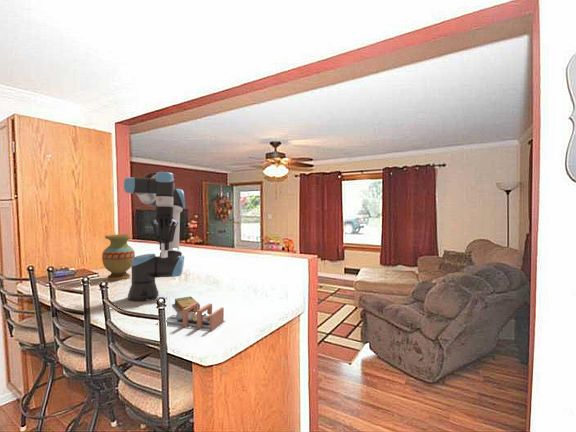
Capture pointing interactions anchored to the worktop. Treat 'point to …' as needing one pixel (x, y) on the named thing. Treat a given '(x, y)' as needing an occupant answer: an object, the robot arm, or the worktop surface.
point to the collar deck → (198, 318)
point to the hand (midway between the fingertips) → (164, 257)
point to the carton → (185, 303)
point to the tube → (193, 317)
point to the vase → (118, 256)
